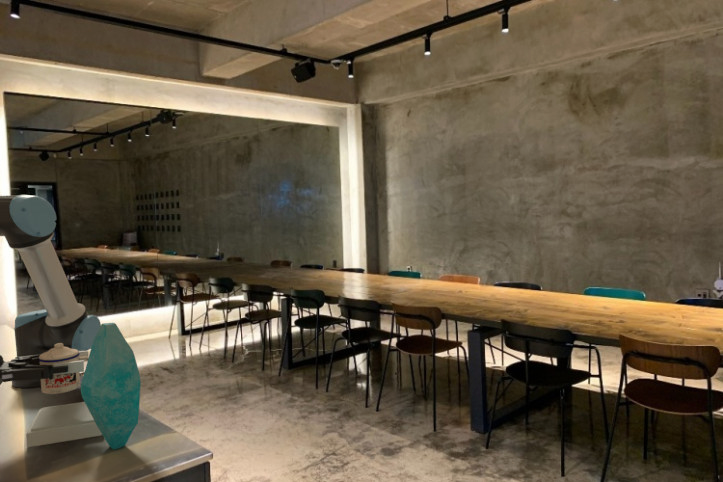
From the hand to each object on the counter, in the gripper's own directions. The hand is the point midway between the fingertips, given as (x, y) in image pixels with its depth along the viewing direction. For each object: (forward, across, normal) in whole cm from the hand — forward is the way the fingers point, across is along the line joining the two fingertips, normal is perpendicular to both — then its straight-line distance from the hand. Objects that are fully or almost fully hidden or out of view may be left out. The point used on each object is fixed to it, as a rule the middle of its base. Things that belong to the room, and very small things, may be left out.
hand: (85, 360), depth 134 cm
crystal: (+8, +17, -18) cm, 25 cm away
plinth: (-4, 0, -17) cm, 18 cm away
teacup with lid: (-5, 0, -7) cm, 8 cm away
